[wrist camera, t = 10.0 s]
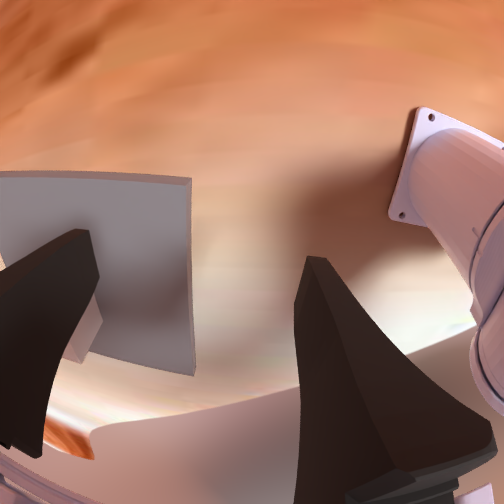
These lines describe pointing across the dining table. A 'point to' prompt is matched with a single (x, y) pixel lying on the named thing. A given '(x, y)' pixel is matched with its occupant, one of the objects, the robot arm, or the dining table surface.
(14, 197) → the lid
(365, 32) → the dining table surface
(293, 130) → the dining table surface
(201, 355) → the dining table surface
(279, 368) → the dining table surface
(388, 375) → the robot arm
